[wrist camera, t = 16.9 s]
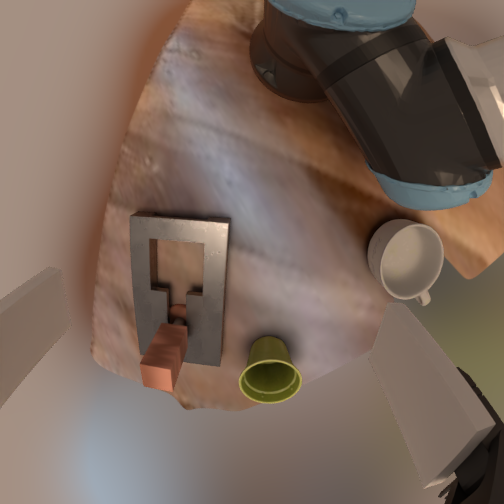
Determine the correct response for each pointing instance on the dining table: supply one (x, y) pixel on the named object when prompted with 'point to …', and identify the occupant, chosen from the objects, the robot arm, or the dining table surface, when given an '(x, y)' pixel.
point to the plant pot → (269, 372)
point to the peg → (166, 352)
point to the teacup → (406, 258)
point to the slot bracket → (197, 304)
